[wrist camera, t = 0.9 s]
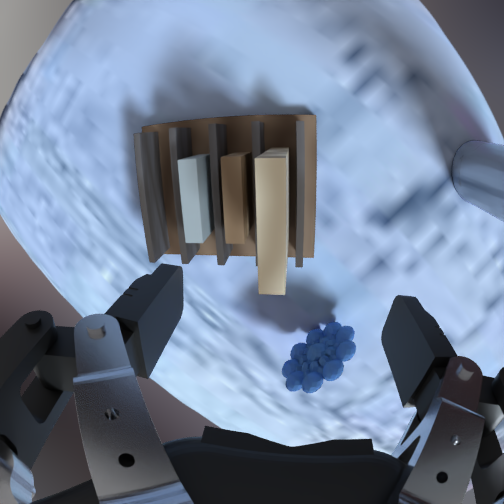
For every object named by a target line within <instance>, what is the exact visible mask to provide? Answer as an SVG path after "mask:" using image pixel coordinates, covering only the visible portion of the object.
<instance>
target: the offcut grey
mask: <svg viewBox="0 0 504 504" xmlns="http://www.w3.org/2000/svg"><path fill="white" fill-rule="evenodd" d="M178 171H179V183H180V194H181V205H182V214H183V224H184V232H185V241H186V243H204V241H205V240H206V239H207V237H208V236H209V235H210V234H211V232H212V231H213V230H214V229H215V226H214V213H213V199H212V184H211V168H210V154H199V155H195V156H191V157H187V158H183V159H180V160H178Z"/></svg>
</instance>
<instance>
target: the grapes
mask: <svg viewBox="0 0 504 504" xmlns="http://www.w3.org/2000/svg"><path fill="white" fill-rule="evenodd" d="M353 338H354V330H353V328H352V327H350V326H343V327H342V326H341V324H340V323H338V322H331V323H329V324H327V325H326V327H325V329H324V331H323V330H321V329H313V330H311V331H310V332H309V333H308V335H307V339H306V342H307V344H305V343H298V344H295V345H294V346H293V348H292V350H291V354H290V356H291V360H288V361H286V362H285V364H284V366H283V368H282V374H283V376H284V377H285V378H287V379H286V387H287V389H288V390H290V391H298V390H300V389H301V388H302V389H303V391H305V392H306V393H313V392H316V391H317V390H318V389H319V388H320V387H321V385H322V384H323V378H324V379H325V380H327V381H334V380H336V379H337V378H338V377H340V376H341V374H342V372H343V368H344V365H343V363H342V361H348V360H350V359H351V358H352V357H353V356H354V354H355V351H356V345H355V343H354V342H352V340H353Z"/></svg>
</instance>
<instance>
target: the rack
mask: <svg viewBox="0 0 504 504" xmlns="http://www.w3.org/2000/svg"><path fill="white" fill-rule="evenodd" d="M134 147H135V159H136V169H137V179H138V188H139V196H140V204H141V211H142V218H143V225H144V232H145V238H146V244H147V250H148V256H149V261H150V262H153V263H155V262H156V261H157V260H158V259H159V258H160V257H161V256H162V255H163V254H181V260H182V264H189V262H190V261H191V260H192V258H193V257H194V256H195V255H217V262H218V265H225V263H226V261H227V259H228V257H229V256H256V266H258V252H257V217H256V185H255V158H256V157H257V156H259V155H261V154H262V153H264V152H265V151H267V150H269V149H270V148H273V147H289V242H288V257H296V267H303V257H304V258H314V241H315V217H316V171H317V140H316V115H247V116H229V117H216V118H204V119H195V120H186V121H178V122H170V123H163V124H156V125H150V126H144V127H142V133H135V134H134ZM235 152H251V166H252V196H253V226H252V228H251V230H250V233H249V235H248V237H247V239H246V242H245V244H226V240H225V225H224V210H223V193H222V176H221V157H223V156H226V155H228V154H231V153H235ZM199 154H210V168H211V184H212V199H213V213H214V226H215V229H214V230H213V231H212V232H211V234H210V235H209V236H208V237H207V239H206V240H205V241H204V243H186V241H185V232H184V224H183V214H182V205H181V194H180V183H179V171H178V160H180V159H183V158H187V157H191V156H195V155H199Z"/></svg>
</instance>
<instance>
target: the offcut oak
mask: <svg viewBox="0 0 504 504" xmlns="http://www.w3.org/2000/svg"><path fill="white" fill-rule="evenodd" d="M221 176H222V193H223V210H224V225H225V240H226V244H245V242H246V239H247V237H248V235H249V233H250V230H251V228H252V226H253V196H252V166H251V152H235V153H231V154H228V155H226V156H223V157H221Z"/></svg>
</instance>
